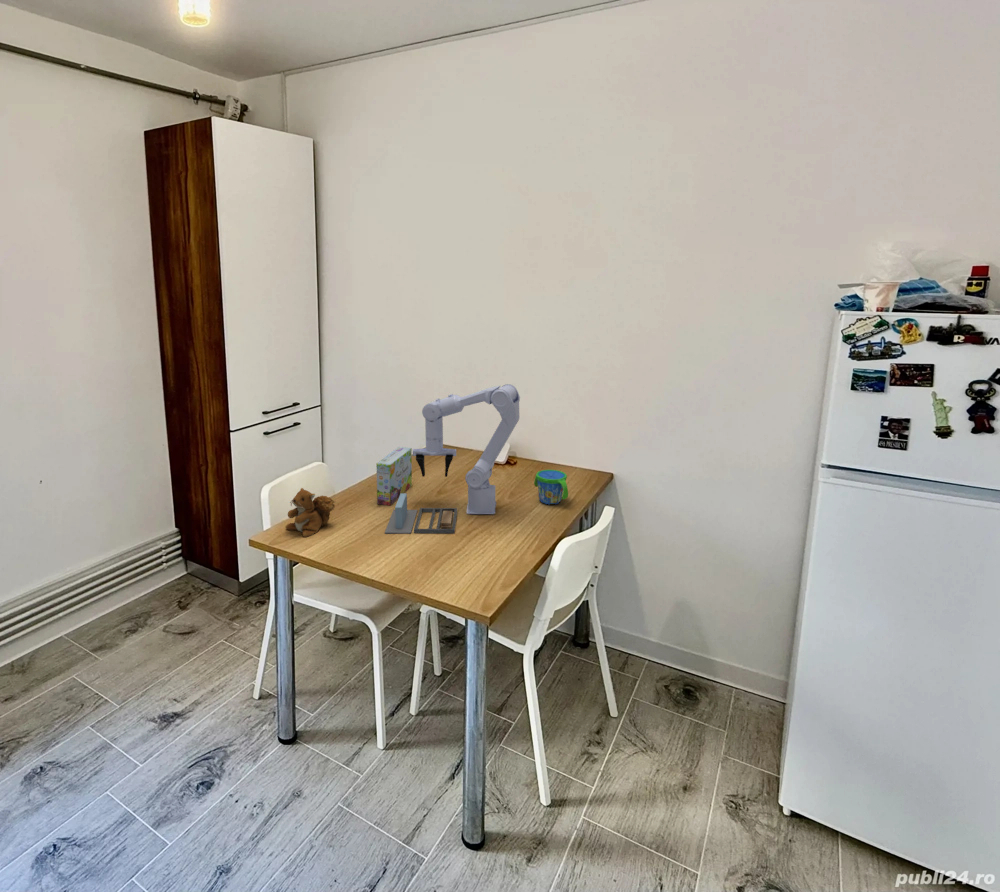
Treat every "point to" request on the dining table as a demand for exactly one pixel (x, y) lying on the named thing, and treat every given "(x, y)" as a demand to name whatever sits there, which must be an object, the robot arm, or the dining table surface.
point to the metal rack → (430, 530)
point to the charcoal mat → (406, 527)
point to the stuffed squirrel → (309, 512)
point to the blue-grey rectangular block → (401, 510)
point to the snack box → (394, 475)
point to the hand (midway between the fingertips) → (434, 475)
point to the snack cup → (551, 486)
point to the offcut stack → (446, 520)
